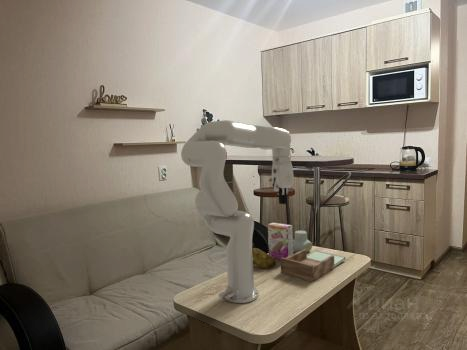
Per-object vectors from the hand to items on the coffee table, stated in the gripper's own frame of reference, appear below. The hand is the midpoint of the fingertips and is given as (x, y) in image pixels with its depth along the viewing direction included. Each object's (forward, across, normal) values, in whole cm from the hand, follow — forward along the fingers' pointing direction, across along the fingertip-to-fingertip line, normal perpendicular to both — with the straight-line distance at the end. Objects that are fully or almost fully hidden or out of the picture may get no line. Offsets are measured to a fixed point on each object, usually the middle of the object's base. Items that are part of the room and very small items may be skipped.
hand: (283, 203), depth 146 cm
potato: (+29, -4, +11) cm, 31 cm away
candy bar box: (+29, +10, +10) cm, 33 cm away
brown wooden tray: (+29, +5, -8) cm, 31 cm away
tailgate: (+28, +14, -8) cm, 32 cm away
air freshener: (+29, +24, +8) cm, 39 cm away
